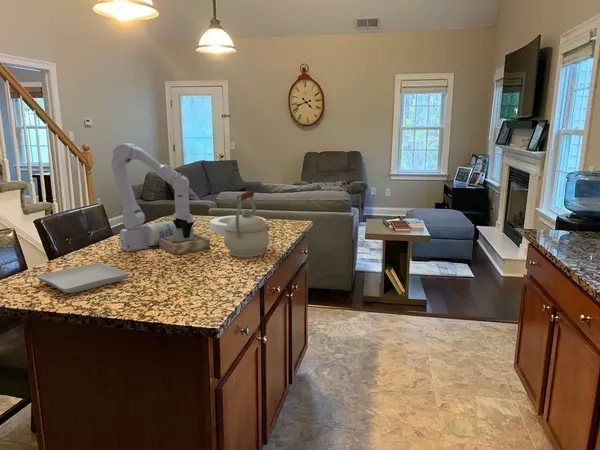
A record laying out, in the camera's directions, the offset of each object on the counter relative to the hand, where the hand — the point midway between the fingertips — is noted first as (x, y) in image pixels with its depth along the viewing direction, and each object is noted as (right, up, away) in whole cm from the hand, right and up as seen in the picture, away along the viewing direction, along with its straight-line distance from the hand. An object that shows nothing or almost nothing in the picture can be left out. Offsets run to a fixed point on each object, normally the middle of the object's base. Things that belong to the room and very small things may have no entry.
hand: (183, 236), depth 189 cm
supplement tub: (-7, +3, +14) cm, 16 cm away
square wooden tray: (0, -5, +1) cm, 5 cm away
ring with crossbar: (+18, +3, +39) cm, 43 cm away
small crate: (0, -2, 0) cm, 2 cm away
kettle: (+28, -6, -5) cm, 29 cm away
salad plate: (-22, -15, -43) cm, 50 cm away
